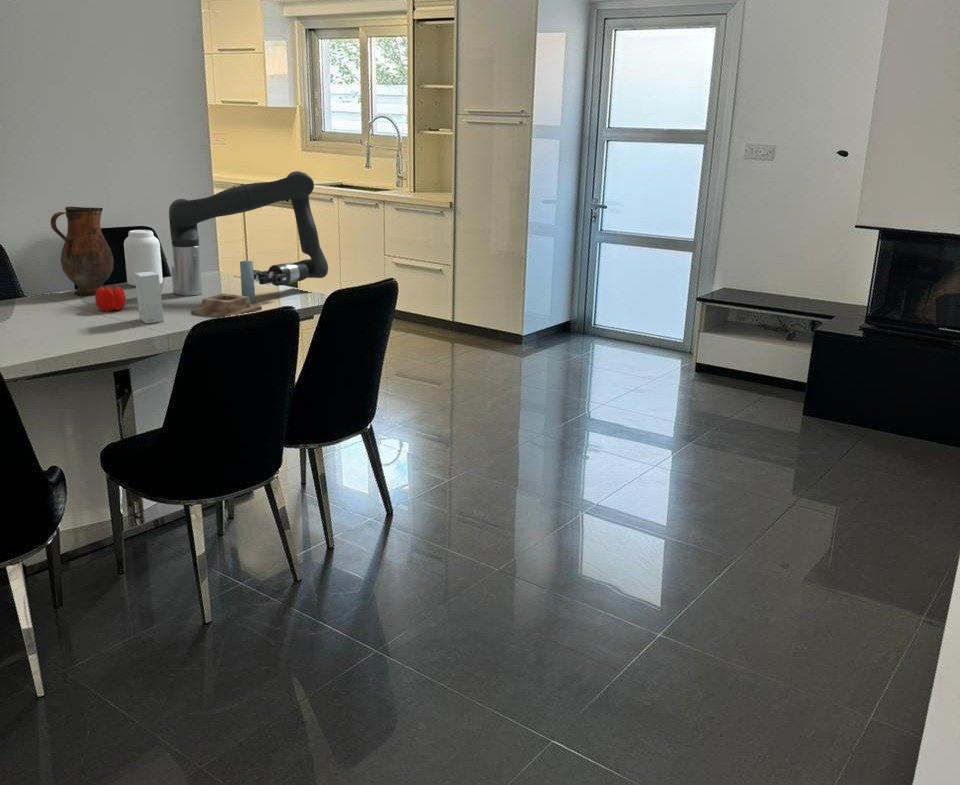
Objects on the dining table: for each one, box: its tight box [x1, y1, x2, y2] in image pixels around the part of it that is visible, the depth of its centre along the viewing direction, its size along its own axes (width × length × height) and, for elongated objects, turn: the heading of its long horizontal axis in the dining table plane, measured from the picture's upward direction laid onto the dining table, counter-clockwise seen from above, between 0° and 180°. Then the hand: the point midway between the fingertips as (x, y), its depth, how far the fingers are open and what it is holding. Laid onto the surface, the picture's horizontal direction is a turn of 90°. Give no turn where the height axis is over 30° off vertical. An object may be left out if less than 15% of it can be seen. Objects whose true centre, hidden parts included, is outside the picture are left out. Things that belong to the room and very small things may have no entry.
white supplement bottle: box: [123, 229, 164, 287], centre depth 320 cm, size 12×12×20 cm
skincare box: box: [134, 272, 165, 324], centre depth 264 cm, size 8×6×15 cm
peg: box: [239, 260, 256, 304], centre depth 295 cm, size 4×4×14 cm
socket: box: [190, 293, 263, 318], centre depth 282 cm, size 16×16×4 cm
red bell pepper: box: [94, 286, 127, 312], centre depth 278 cm, size 9×9×8 cm
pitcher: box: [50, 206, 114, 297], centre depth 297 cm, size 17×21×30 cm
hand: (251, 279), depth 297 cm, fingers open, 8 cm apart
